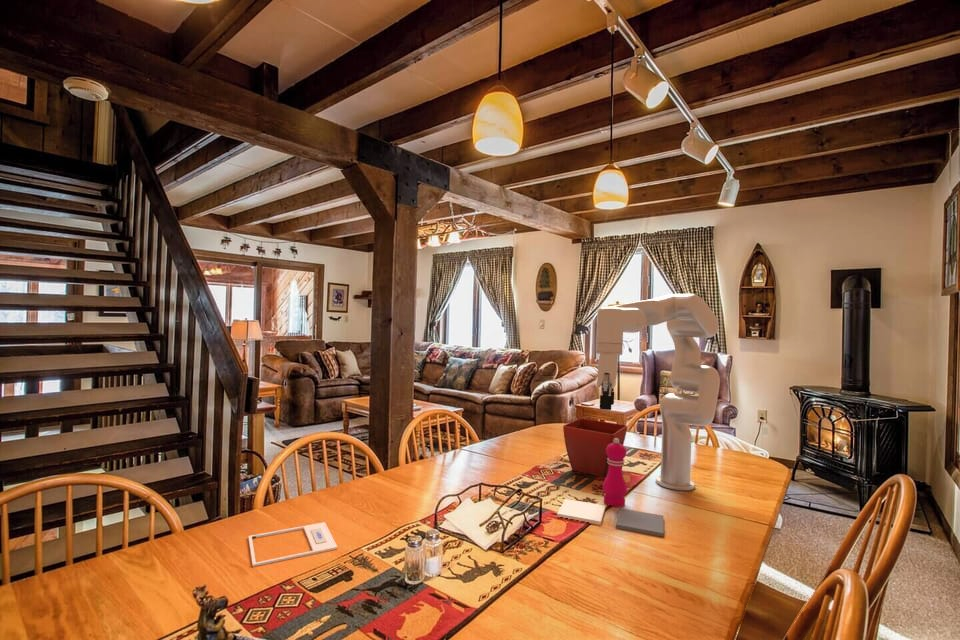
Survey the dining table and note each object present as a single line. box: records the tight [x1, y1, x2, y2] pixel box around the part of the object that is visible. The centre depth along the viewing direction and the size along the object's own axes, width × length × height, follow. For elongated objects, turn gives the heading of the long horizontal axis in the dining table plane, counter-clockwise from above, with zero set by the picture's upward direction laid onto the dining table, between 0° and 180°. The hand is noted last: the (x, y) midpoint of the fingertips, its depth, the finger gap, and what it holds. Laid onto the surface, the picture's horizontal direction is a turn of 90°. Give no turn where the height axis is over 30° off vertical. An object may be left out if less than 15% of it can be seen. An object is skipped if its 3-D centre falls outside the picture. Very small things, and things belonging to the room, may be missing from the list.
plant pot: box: [562, 417, 628, 478], centre depth 175 cm, size 19×19×17 cm
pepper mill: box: [602, 438, 628, 508], centre depth 143 cm, size 7×7×20 cm
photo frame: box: [247, 521, 338, 567], centre depth 111 cm, size 15×1×18 cm
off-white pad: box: [556, 498, 606, 526], centre depth 135 cm, size 12×12×1 cm
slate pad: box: [615, 507, 665, 538], centre depth 129 cm, size 12×12×1 cm
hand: (606, 406), depth 137 cm, fingers open, 9 cm apart
